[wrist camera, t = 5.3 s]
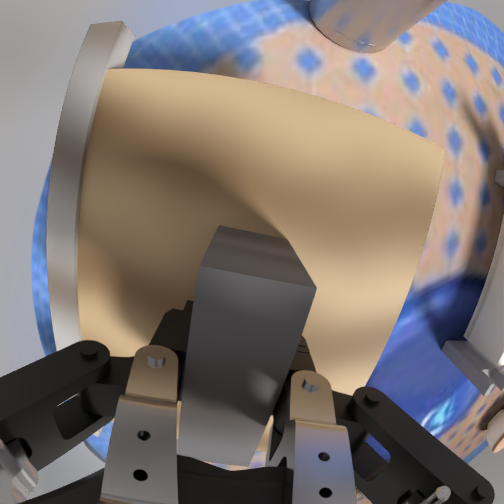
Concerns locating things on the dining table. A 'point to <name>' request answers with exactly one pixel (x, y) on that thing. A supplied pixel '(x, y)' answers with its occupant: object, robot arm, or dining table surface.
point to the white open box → (485, 327)
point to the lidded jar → (496, 432)
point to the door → (230, 232)
